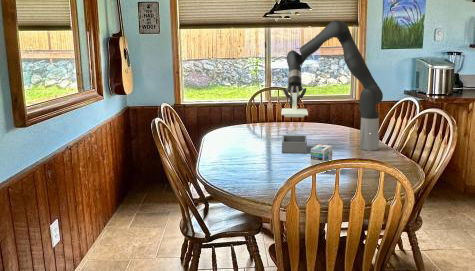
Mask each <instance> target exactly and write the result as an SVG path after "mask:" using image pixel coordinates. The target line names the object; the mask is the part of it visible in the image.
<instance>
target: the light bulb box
mask: <svg viewBox="0 0 475 271" xmlns="http://www.w3.org/2000/svg"><path fill="white" fill-rule="evenodd" d="M329 160H332V161H333V145H330V144H329V145H328V144H320V143H319V144H317V145H315V146H313V147H312V148H310V166H311V165H314V164H317V163H320V162H324V161H329ZM310 166H309V167H310ZM325 173H326V172H324V173H322V174H325Z"/></svg>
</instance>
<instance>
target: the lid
mask: <svg viewBox="0 0 475 271" xmlns="http://www.w3.org/2000/svg"><path fill="white" fill-rule="evenodd" d="M291 105H292V106H291V108H290V107H289V108H281V112H280V115H281V116H284V118H305V116H309V112H308V109H307V108H298V107H297V105H298V104H297V93H292V104H291Z"/></svg>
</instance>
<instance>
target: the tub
mask: <svg viewBox="0 0 475 271" xmlns="http://www.w3.org/2000/svg"><path fill="white" fill-rule="evenodd" d="M307 141H308V139H307V135H288V134H287V135H282V138H281V154H300V155H303V154H305V155H306V154H307V152H308V142H307Z"/></svg>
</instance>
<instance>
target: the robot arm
mask: <svg viewBox="0 0 475 271" xmlns="http://www.w3.org/2000/svg"><path fill="white" fill-rule="evenodd" d="M333 38H335V39H337V40H338V42H339V43H340V45H341V47H342V52H343V59H344V62H345V64H346V67H347V69H348V70H349V72H350V73H351V74H352V76H353V77H355V79H357V81H359V82H360V84H361V85H362V87H363V89H362V91H361V92H360V94H359V112H360V132H359V133H360V134H359V135H360V136H359V149H360V150H362V151H369V152H371V151H372V152H373V151H378V150H379V146H380V132H379V128H380V127H379V125H380V124H379V122H380V112H378V111H377V105H379V104H380V103H381V102H382V101H383V97H384V96H383V95H384V94H383V92H382V89H381V88H380V87H379V85H378V83H377V82H376V81H375V79H374V77H373V75H372V73H371V72H370V69H369V67H368V65H367V64H366V61H365V59H364V57H363V55H362V54H361V52H360V50H359V48H358V46H357V45H356V43H355V40H354V38H353V36H352V34H351V30H350V27H349V26H348V24H347V23H346V22H345V21H342V20H336V19H335V20H332V21H331V22H329V23H328V24H326V26H325V27H324V28H323V29H322V30H321V31H320V32H319V33H318V34H316V36H314V37H313V38H311V39H310V40H309V41H307V43H305V44H303V45H302V46H300V48H299V52H300V53H298V52H297V51H296V50H290V51H288V53H287V55H286V62H287V66H288V78H287V80H288V82H287V84H288V85H287V87H284V88H282V93H284V96H285V97H286V98H287V99H289V104H291V105H292V93H297V105H299V104H300V99H303V98H304V96H305V94H306V93H307V88H306V87H304V88H303V86H302V68H301V65H303V64H304V63H305V61H306V60H307V59H308V58H309V57H310V56H311V55H313V54H314V53H316V52H317V51H318V50H319V49H320V48H321V47H322V45H324V43H326V42H327V41H329V40H331V39H333ZM300 92H301V93H300Z"/></svg>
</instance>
